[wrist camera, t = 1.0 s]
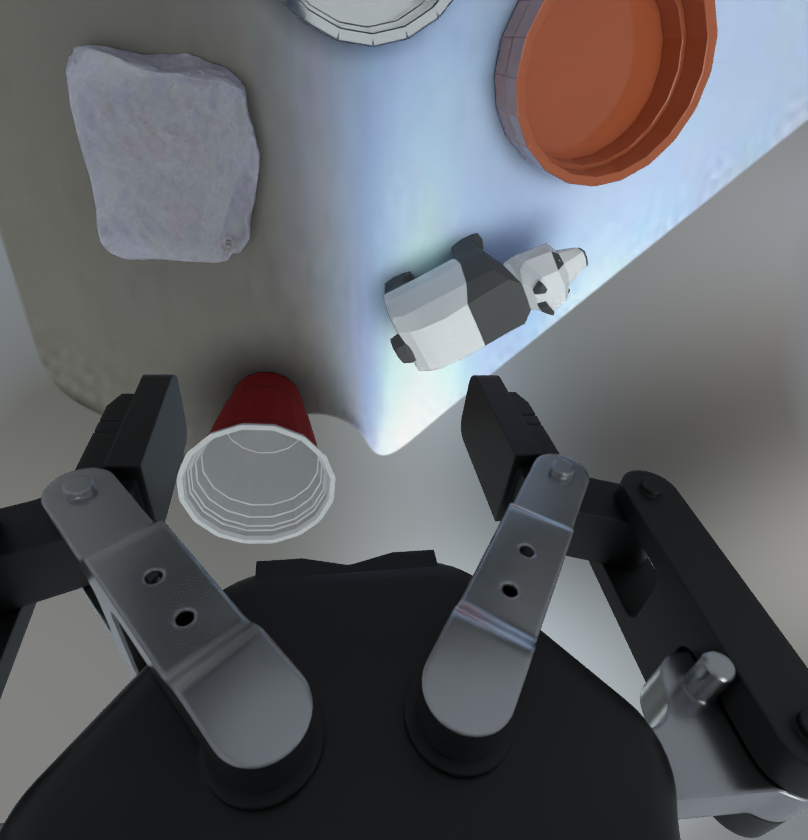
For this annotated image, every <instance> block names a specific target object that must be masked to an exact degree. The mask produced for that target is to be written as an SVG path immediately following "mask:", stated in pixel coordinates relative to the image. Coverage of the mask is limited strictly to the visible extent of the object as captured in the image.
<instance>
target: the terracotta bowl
mask: <svg viewBox="0 0 808 840" xmlns="http://www.w3.org/2000/svg"><path fill="white" fill-rule="evenodd" d="M716 40H717V21H716V10H715V0H519V2H518V4H517V6H516V8H515V10H514V13H513V15H512V17H511V19H510V21H509V23H508V25H507V28H506V30H505V32H504V34H503V38H502V41H501V46H500V51H499V56H498V61H497V66H496V71H495V90H496V107H497V111H498V114H499V117H500V120H501V123H502V125H503V128H504V131H505V134H506V136H507V138H508V139H509V140H510V142H511V143H512V144H513V146H514V147H515V148H516V149H517V151H518V152H519V153H520V154H521V156H522V157H524V158H525V159H526V160H528V161H530V162H531V163H533V164H535V165H537V166H538V167H540V168H542V169H544V170H545V171H547V172H549V173H550V174H552V175H554V176H556V177H558V178H559V179H561V180H563V181H565V182H566V183H570V184H578V185H586V186H598V185H602V184H607V183H611V182H615V181H619V180H622V179H624V178H626V177H628V176H630V175H631V174H633V173H635V172H637V171H638V170H640V169H642V168H644V167H645V166H647V165H649V164H650V163H651V162H652V161H653V160H654V159H655V158H656V157H658V156H659V155H660V154H661V153H662V152H663V151H664V150H665V149H666V148H667V147H668V146H669V145H670V144H671V143H672V142H673V141H674V139H676V138H677V136H678V135H679V133H680V132H681V130H682V129H683V127H684V126H685V124H686V123H687V121H688V120H689V118H690V117H691V115H692V114H693V112H694V111H695V108H696V107H697V105H698V103H699V100H700V98H701V95H702V93H703V90H704V88H705V85H706V83H707V80H708V78H709V76H710V72H711V69H712V63H713V57H714V51H715V46H716Z"/></svg>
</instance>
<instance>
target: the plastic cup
mask: <svg viewBox="0 0 808 840" xmlns="http://www.w3.org/2000/svg"><path fill="white" fill-rule="evenodd" d="M177 486H178V494H179V501H180V502H181V504H182V505H183V506H184V508H185V509H186V511H187V512H188V513H189V515H190V517H191V518H192V519H193V521H194V522H196V523H198V524H199V525H200V526H202V527H204V528H206V529H207V530H208V531H210V532H211V533H213V534H214V535H216V536H219V537H222V538H226V539H230V540H233V541H237V542H241V543H245V544H246V543H247V544H248V543H275V542H279V541H282V540H286V539H289V538H292V537H296V536H299V535H301V534H302V533H303V532H305V531H306V530H308V529H309V528H311V527H312V526H314V525H315V524H316V523H318V522H319V521H321V520H322V518H323V516H324V515H325V513H326V512H327V510H328V509H329V507H330V505H331V504H332V502H333V500H334V490H335V476H334V473H333V471H332V469H331V466H330V465H329V462H328V460H327V457H326V455H325V454H324V452H323V451H321V450H320V449H319V448H318V447H317V444H316V441H315V437H314V434H313V431H312V428H311V424H310V421H309V418H308V415H307V413H306V411H305V408H304V404H303V401H302V398H301V396H300V394H299V391H298V389H297V388H296V386H295V385H294V384H293V383H292V382H291V381H290V380H289V379H288V378H286V377H284V376H282V375H279V374H277V373H274V372H258V373H255V374H252V375H248V376H247V377H246V378H244V379H243V380H242V381H241V382H239V384H238V385H236V387H235V389H234V391H233V393H232V395H231V397H230V399H229V400H228V401H227V402H226V404H225V406H224V408H223V409H222V411H221V413H220V415H219V417H218V419H217V420H216V422H215V424H214V426H213V428H212V430H211V431H210V433H209V434H208V435H207V436H206V437H205V438H204V439H203V440H202V441H200V442H199V443H198V444H197V445H195V446H194V447H193V448H192V449H190V450H189V451H188V452H187V454H186V456H185V458H184V460H183V462H182V465H181V467H180V469H179V471H178V475H177Z"/></svg>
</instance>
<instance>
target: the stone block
mask: <svg viewBox="0 0 808 840" xmlns="http://www.w3.org/2000/svg"><path fill="white" fill-rule="evenodd" d="M65 72H66V76H67V84H68V91H69V99H70V106H71V110H72V114H73V118H74V122H75V126H76V131H77V136H78V140H79V143H80V147H81V151H82V154H83V157H84V160H85V163H86V166H87V169H88V173H89V176H90V180H91V184H92V188H93V196H94V202H95V206H96V218H97V230H98V234H99V238H100V242H101V243H102V244H103V245H104V247H105V248H106V249H107V250H108V252H110V253H112V254H114V255H116V256H118V257H121V258H123V259H128V260H133V259H142V260H145V259H163V260H176V261H185V262H207V263H217V262H224V261H227V260H229V258H230V256H231V255H232V254H239V253H240V252H241V251H242V249H243V248H244V247H245V245H246V244H247V242H248V241H249V237H250V221H251V215H252V209H253V206H254V203H255V193H256V189H257V182H258V172H259V162H260V153H259V149H258V146H257V140H256V135H255V130H254V128H253V125H252V122H251V119H250V116H249V114H248V106H247V96H246V90H245V88H244V85H243V83H242V82H241V81H240V79H238V78H237V77H236V76H235V75H234V74H233V73H232V72H231V71H230V70H229V69H227V68H225V67H223V66H221V65H216V64H213V63H211V62H208V61H206V60H203V59H201V58H200V57H197V56H194V55H191V54H189V53H177V54H158V55H147V54H138V53H135V52H130V51H124V50H120V49H115V48H110V47H108V46H101V45H85V46H77V47H75V48H74V50H73V52H72V55H71V56H69V57H68V65H67V67H66V71H65Z"/></svg>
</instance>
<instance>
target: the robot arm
mask: <svg viewBox="0 0 808 840" xmlns="http://www.w3.org/2000/svg"><path fill="white" fill-rule="evenodd" d="M461 432H462V438H463V441H464V443H465V446H466V448H467V451H468V453H469V456H470V458H471V461H472V464H473V466H474V469H475V471H476V474H477V476H478V479H479V481H480V484H481V486H482V489H483V491H484V494H485V496H486V499H487V501H488V504H489V506H490V509H491V511H492V514H493V516H494V519H495V521H501V522H500V524H499V526H498V528H497V530H496V532H495V534H494V536H493V537H492V539H491V542H490V543H489V545H488V547H487V549H486V551H485V553H484V555H483V557H482V559H481V561H480V563H479V565H478V567H477V569H476V571H475V573H474V575H473V576H472V575H470V574H468V573H466V572H464V571H462V570H460V569H457V568H455V567H452V566H448V565H444V564H440V563H437V561H436V557H435V553H434V550H423V551H409V552H408V551H407V552H392V553H389V554H386V555H382V556H379V557H375V558H372V559H369V560H366V561H362V562H359V563H355V564H351V565H343V564H336V563H330V562H323V561H316V560H308V559H288V560H272V561H257V563H256V575H255V576H253V577H249V578H247V579H244V580H242V581H239V582H237V583H235V584H233V585H231V586H229V587H227V588H226V589H224V590H222V589H221V588H220V587H219V585H218V584H217V583H216V582H215V581H214V580H213V578H212V577H211V576H210V575H209V574H208V573H207V571H206V570H205V569H204V568H203V567H202V565H201V564H200V563H199V562H198V561H197V559H196V558H195V557H194V556H193V555H192V554H191V552H190V551H189V550H188V549H187V548H186V547H185V545H184V544H183V543H182V542H181V541H180V539H178V537H177V536H176V535H175V534H174V532H173V531H172V530H171V529H170V528H169V527H168V525H166V523H165V520H166V516H167V513H168V509H169V505H170V501H171V498H172V494H173V490H174V486H175V483H176V479H177V475H178V471H179V468H180V464H181V460H182V456H183V453H184V449H185V445H186V436H187V430H186V420H185V415H184V410H183V405H182V399H181V394H180V389H179V384H178V380H177V377H176V375H143V376H142V378H141V380H140V383H139V385H138V387H137V390H136V392H135V394H121V395H120V396H119V397H117V398H116V399H115V400H114V401H112V402H111V403H110V404H109V405H107V407H106V409H105V411H104V413H103V415H102V417H101V419H100V422H99V423H98V425H97V427H96V429H95V433H93V435H92V437H91V439H90V441H89V443H88V445H87V447H86V449H85V451H84V453H83V455H82V457H81V459H80V462H79V463H78V465H77V467H76V469H75V470H74V471H71V472H69V473H66V474H64V475H62V476H60V477H58V478H57V479H55V480H54V481H52V482H51V483H50V484H49V485H48V486H47V487H46V488H45V490H44V491H43V494H42V497H41V498H39V499H36V500H33V501H29V502H26V503H21V504H18V505H13V506H9V507H5V508H1V509H0V698H1V695H2V693H3V690H4V687H5V684H6V682H7V679H8V677H9V674H10V671H11V669H12V666H13V663H14V661H15V658H16V655H17V653H18V650H19V648H20V645H21V642H22V639H23V636H24V634H25V632H26V629H27V626H28V623H29V621H30V618H31V616H32V613H33V610H34V608H35V605H36V602H38V601H41V600H45V599H48V598H51V597H54V596H57V595H60V594H63V593H66V592H70V591H72V590H76V589H79V588H81V590H82V592H83V593H84V595H85V596H86V598H87V600H88V601H89V603H90V604H91V606H92V607H93V609H94V611H95V612H96V614H97V615H98V617H99V619H100V620H101V622H102V623H103V625H104V627H105V628H106V630H107V631H108V633H109V634H110V636H111V638H112V639H113V641H114V642H115V644H116V646H117V648H118V649H119V651H120V653H121V655H122V657H123V659H124V661H125V663H126V664H127V666H128V668H129V670H130V672H131V673H132V675H133V677H134V679H133V680H132V681H131V682H130V683H129V684H128V685H127V686H126V687H125V688H124V689H123V690H122V691H121V692H120V693H119V694H118V696H116V697H115V698H114V699H113V700H112V702H111V703H110V704H109V705H108V706H107V707H106V708H105V709H104V710H103V711H102V712H101V713H100V714H99V715H98V716H97V717H96V718H95V719H94V720H93V721H92V722H91V723H90V724H89V726H88V727H87V728H86V729H85V730H84V731H83V732H82V733H81V734H80V735H79V736H78V737H77V738H76V739H75V740H74V741H73V742H72V743H71V744H70V745H69V746H68V747H67V748H66V749H65V751H64V752H63V753H62V754H61V755H60V756H59V757H58V758H57V759H56V760H55V761H54V762H53V763H52V764H51V765H50V766H49V767H48V768H47V769H46V770H45V771H44V772H43V773H42V775H41V776H40V777H39V778H38V779H37V780H36V781H35V782H34V783H33V784H32V786H30V787H29V789H28V790H27V791H26V792H25V793H24V795H23V796H22V797H21V799H20V800H19V801H18V803H17V804H16V806H15V807H14V808H13V810H12V811H11V813H10V815H9V816H8V818H7V820H6V821H5V823H1V824H0V840H680V833H679V826H678V819H689V818H699V817H709V816H713V817H714V818H715V819H716V820H717V821H718V822H719V823H720V824H722V825H723V826H724V827H725V828H727V829H728V830H730V831H732V832H733V833H735V834H738V835H740V836H744V837H748V838H755V837H759V836H762V835H764V834H765V833H767V832H769V831H770V830H772V829H774V828H775V827H777V826H778V825H780V824H782V823H783V822H785V821H787V820H788V819H790V818H792V817H793V816H795V815H797V814H798V813H800V812H802V811H803V810H805V809H807V808H808V668H807V667H806V665H805V664H804V662H803V661H802V660H801V659H800V657H799V656H798V654H797V653H796V652H795V650H794V649H793V648H792V646H791V645H790V644H789V642H788V641H787V639H786V638H785V637H784V635H783V634H782V632H781V631H780V630H779V628H778V627H777V626H776V624H775V623H774V622H773V620H772V619H771V617H770V616H769V615H768V613H767V612H766V611H765V609H764V608H763V607H762V605H761V604H760V603H759V601H758V600H757V598H756V597H755V596H754V594H753V593H752V592H751V590H750V589H749V587H748V586H747V585H746V583H745V582H744V581H743V579H742V578H741V577H740V575H739V574H738V573H737V571H736V570H735V568H734V567H733V566H732V564H731V563H730V562H729V560H728V559H727V557H726V556H725V555H724V553H723V552H722V551H721V549H720V548H719V547H718V545H717V544H716V543H715V541H714V540H713V538H712V537H711V536H710V534H709V533H708V532H707V530H706V529H705V528H704V526H703V525H702V523H701V522H700V521H699V519H698V518H697V517H696V515H695V514H694V512H693V511H692V510H691V509H690V507H689V506H688V504H687V503H686V502H685V500H684V499H683V498H682V496H681V495H680V493H679V492H678V491H677V489H676V488H675V487H674V486H673V485H672V484H671V483H670V482H668V481H667V480H666V479H664V478H662V477H660V476H658V475H656V474H654V473H651V472H647V471H640V470H638V471H630V472H628V473H627V474H625V475H624V476H623V478H622V480H621V482H620V484H618V483H612V482H608V481H603V480H598V479H594V478H590V477H589V475H588V472H587V471H586V469H585V468H584V467H583V466H582V465H581V464H580V463H578V462H577V461H576V460H574V459H572V458H570V457H567V456H564V455H560V454H559V452H558V451H557V449H556V447H555V446H554V444H553V442H552V441H551V439H550V437H549V436H548V434H547V433H546V431H545V429H544V428H543V426H542V425H541V423H540V421H539V419H538V418H537V416H535V413H534V411H533V410H532V408H531V406H530V405H529V403H528V402H527V401H526V400H524V399H523V398H522V397H520V395H518V394H517V393H516V392H508V391H507V389H506V387H505V385H504V384H503V382H502V380H501V379H500V377H499V376H497V375H474V376H472V377H471V379H470V382H469V386H468V391H467V395H466V400H465V405H464V410H463V415H462V420H461ZM565 556H571V557H575V558H580V559H585V560H589V562H590V564H591V567H592V569H593V571H594V573H595V575H596V577H597V579H598V582H599V583H600V586H601V588H602V590H603V592H604V594H605V596H606V599H607V601H608V603H609V605H610V607H611V609H612V611H613V613H614V616H615V617H616V620H617V622H618V624H619V626H620V628H621V631H622V632H623V635H624V637H625V639H626V641H627V643H628V645H629V648H630V649H631V652H632V654H633V656H634V658H635V660H636V662H637V664H638V667H639V669H640V671H641V673H642V675H643V677H644V679H645V682H646V684H645V685H644V686H643V688H642V690H641V693H640V704H641V708H642V711H643V715H644V717H643V716H642V715H641V714H640V713H639V712H638V711H637V710H636V709H635V708H634V707H633V706H632V705H631V704H630V703H629V702H627V701H626V700H625V699H624V698H623V697H622V696H620V695H619V694H618V693H616V692H615V691H614V690H613V689H612V688H611V687H609V686H608V685H607V684H606V683H604V682H603V681H602V680H601V679H600V678H598V677H597V676H596V675H595V674H593V673H592V672H591V671H590V670H589V669H587V668H586V667H585V666H584V665H583V664H581V663H580V662H579V661H578V660H576V659H575V658H574V657H573V656H571V655H570V654H569V653H568V652H567V651H565V650H564V649H563V648H562V647H560V646H559V645H558V644H557V643H556V642H554V641H553V640H552V639H551V638H550V637H548V636H547V635H546V634H545V633H543V632H542V631H541V627H542V624H543V621H544V618H545V614H546V612H547V609H548V606H549V603H550V600H551V597H552V594H553V591H554V588H555V585H556V583H557V580H558V577H559V574H560V571H561V568H562V565H563V562H564V559H565ZM648 557H649V559H650V561H651V562H652V564H653V566H654V567H653V566H652V564H651V562H650V561H649V559H648ZM654 568H655V569H654Z"/></svg>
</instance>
